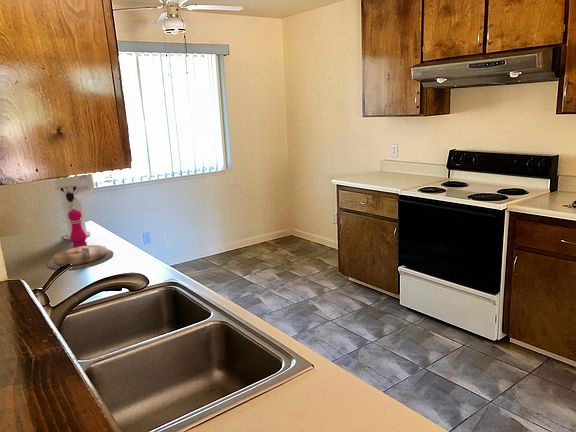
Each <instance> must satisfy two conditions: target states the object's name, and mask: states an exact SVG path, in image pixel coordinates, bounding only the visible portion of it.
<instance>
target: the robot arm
mask: <svg viewBox="0 0 576 432" xmlns="http://www.w3.org/2000/svg"><path fill="white" fill-rule="evenodd" d="M93 178H94V177H93V173H92V174H88V175H79V176H74V177H69V178H63V179H56V180H54V179H53V182H54V186H55V190H56V191H57V192H58V195H59V199H60V203H61V206H62V208H61V209H62V213H63V219H64V225H65V227H64V229H62V230H61V231H62V233H65V235H64V236H63V237H64V239H65V240H70V241H71V239H70V236H71V233H72V224H71V223H70V219H69V218H68V213H69V211H71V210H72V207H75V208H76V209H75V210H79V211H80V212H81V214H82V216H81V218H80V219H81V221H82V222H81V227H82V229H83V231H84V232H85V234H86V236H87V237H89V236H90V235H91V232H90V231H88V230H87V226H86V225H87V224H86V220H85V214H84V208H83V203H82V201H81V199H79V197H77V196H78V195H85V194H86V195H87V194H91V193H93V192H94V190H95V185H94V184H95V182H94V179H93Z"/></svg>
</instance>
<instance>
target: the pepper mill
mask: <svg viewBox="0 0 576 432" xmlns="http://www.w3.org/2000/svg"><path fill="white" fill-rule="evenodd" d="M75 209H76V208H75V207H72V210H71V211H69V213H68V218H69V219H70V223H71V224H72V233H71V236H70V239H71V240H70V241H71V242H72V248H75V247H80V246H88V243H87V241H86V240H87V238H88V236H86V234H85V232H84V231H83V229H82V227H81V222H82V221H81V219H80V218H81V216H82V214H81V212H80V211H79V210H75Z"/></svg>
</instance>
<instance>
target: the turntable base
mask: <svg viewBox="0 0 576 432" xmlns="http://www.w3.org/2000/svg"><path fill="white" fill-rule="evenodd" d="M113 256H114V252H113V250H111V249H108V248H107V255H106V256H105V257H103V258H101V259H99V260H96V261H93V262H90V263H86V264H80V265H72V269H71V270H79V269H83V268H89V267H93V266H96V265H99V264H103V263H104V262H105V263H106V261H109V260H111V259H112V258H113ZM47 267H48V268H49V269H53V270H56V269H58V268H59V267H61V265H56V264H55V263H54V261H53V258H51V259H50V260H49V261H48V262H47ZM78 268H79V269H78Z"/></svg>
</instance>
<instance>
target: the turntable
mask: <svg viewBox="0 0 576 432" xmlns="http://www.w3.org/2000/svg"><path fill="white" fill-rule="evenodd" d="M107 249H108V248H107V247H106V246H103V245H98V244H96V245H94V244H93V245H92V244H91V245H90V244H89V245H87V246H80V247H75V248H73V247H70V248H68V249H64V250H61V251H59V252H57V253H55V254H54V255H53V257H52V259H53V261H54V263H55V264H56V265H61V266H62V265H65V264H72V265H80V264H86V263H90V262H93V261H96V260H99V259H101V258H103V257H105V256H106V255H107Z"/></svg>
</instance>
